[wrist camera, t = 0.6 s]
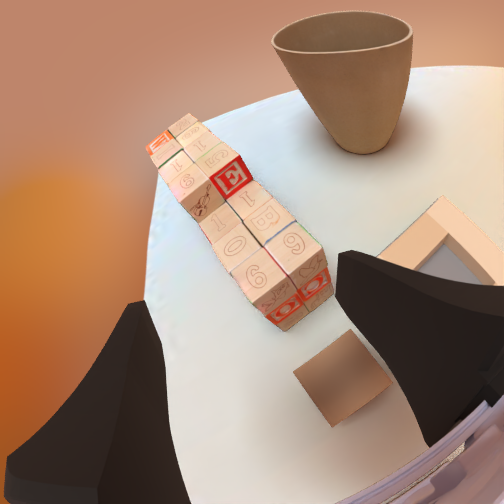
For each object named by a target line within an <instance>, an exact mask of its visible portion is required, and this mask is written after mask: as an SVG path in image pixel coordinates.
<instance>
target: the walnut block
mask: <svg viewBox="0 0 504 504" xmlns="http://www.w3.org/2000/svg"><path fill="white" fill-rule="evenodd" d="M293 373H294V374H295V376H296V377H297V379H298V380H299V382H300V383H301V384H302V386H303V387H304V389H305V390H306V392H307V393H308V395H309V396H310V397H311V399H312V400H313V402H314V403H315V404H316V406H317V407H318V409H319V410H320V412H321V413H322V414H323V416H324V417H325V419H326V420H327V421H328V423H329V424H330V426H331V427H334V426H335V425H337V424H338V423H340V422H341V421H343V420H344V419H346V418H347V417H349V416H350V415H351V414H353V413H354V412H356V411H357V410H358V409H360V408H361V407H363V406H364V405H365V404H367V403H368V402H369V401H371V400H372V399H373V398H374V397H376V396H377V395H378V394H380V393H381V392H382V391H383V390H385V389H386V388H387V387H388V386H390V385H391V384H392V383H393V382H392V381H391V380H390V378H389V377H388V376H387V374H386V373H385V372H384V370H383V369H382V368H381V367H380V365H379V364H378V363H377V361H376V360H375V359H374V358H373V356H372V355H371V354H370V353H369V351H368V350H367V349H366V347H365V346H364V345H363V344H362V342H361V341H360V340H359V339H358V337H357V336H356V335H355V334H354V332H353V331H352V330H351V329H350V330H348V331H347V332H346V333H345V334H343V335H342V336H341V337H340V338H338V339H337V340H336V341H334V342H333V343H332V344H331V345H329V346H328V347H327V348H325V349H324V350H323V351H321V352H320V353H319V354H317V355H316V356H315V357H313V358H312V359H310V360H309V361H308V362H306V363H305V364H303V365H302V366H301V367H299V368H298V369H296V370H295V371H293Z"/></svg>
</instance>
